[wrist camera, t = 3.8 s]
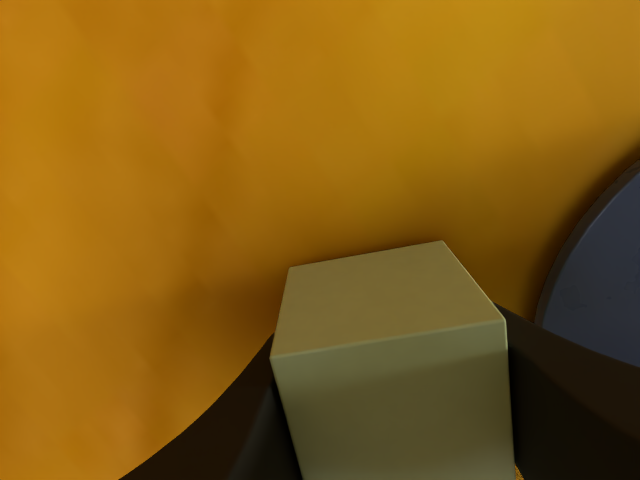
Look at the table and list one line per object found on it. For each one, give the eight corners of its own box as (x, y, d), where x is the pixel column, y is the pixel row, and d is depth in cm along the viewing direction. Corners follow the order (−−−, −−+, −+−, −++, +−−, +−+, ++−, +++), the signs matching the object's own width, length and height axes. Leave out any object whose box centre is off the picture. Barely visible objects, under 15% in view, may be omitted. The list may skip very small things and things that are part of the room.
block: (443, 239, 12) (507, 318, 8) (457, 370, 13) (518, 499, 9) (288, 266, 12) (268, 357, 8) (318, 391, 13) (314, 525, 9)
